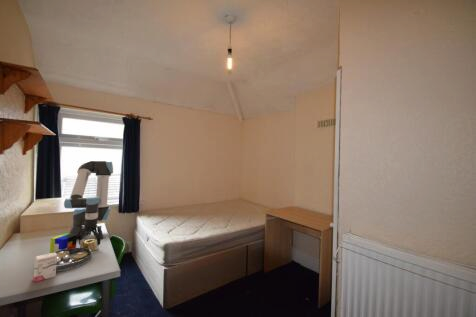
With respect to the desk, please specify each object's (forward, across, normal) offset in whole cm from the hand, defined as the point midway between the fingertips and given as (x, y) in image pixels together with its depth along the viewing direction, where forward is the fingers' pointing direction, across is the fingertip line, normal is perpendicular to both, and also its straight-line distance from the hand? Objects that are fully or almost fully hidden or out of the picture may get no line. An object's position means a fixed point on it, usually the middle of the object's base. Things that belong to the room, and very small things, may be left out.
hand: (89, 249), depth 148 cm
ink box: (0, +2, -37) cm, 37 cm away
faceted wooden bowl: (0, 0, 0) cm, 0 cm away
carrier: (0, -1, -19) cm, 19 cm away
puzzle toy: (+1, -16, -3) cm, 16 cm away
